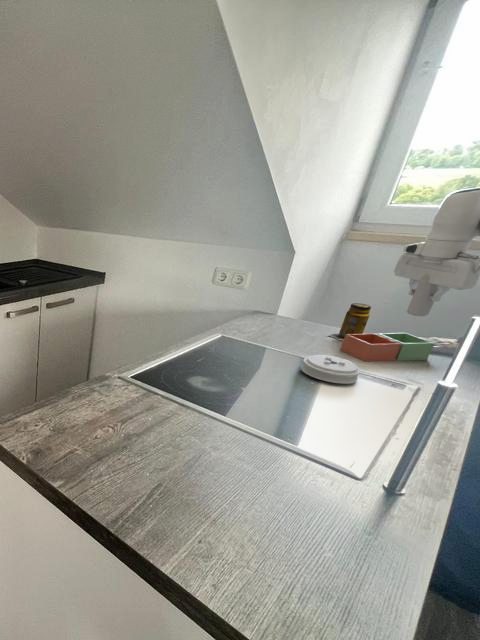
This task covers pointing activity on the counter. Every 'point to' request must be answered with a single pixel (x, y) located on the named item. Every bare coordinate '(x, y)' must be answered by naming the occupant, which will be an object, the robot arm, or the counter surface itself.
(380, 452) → the counter surface
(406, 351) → the green bin
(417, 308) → the beverage can
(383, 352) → the terracotta bin
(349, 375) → the lid
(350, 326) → the condiment
